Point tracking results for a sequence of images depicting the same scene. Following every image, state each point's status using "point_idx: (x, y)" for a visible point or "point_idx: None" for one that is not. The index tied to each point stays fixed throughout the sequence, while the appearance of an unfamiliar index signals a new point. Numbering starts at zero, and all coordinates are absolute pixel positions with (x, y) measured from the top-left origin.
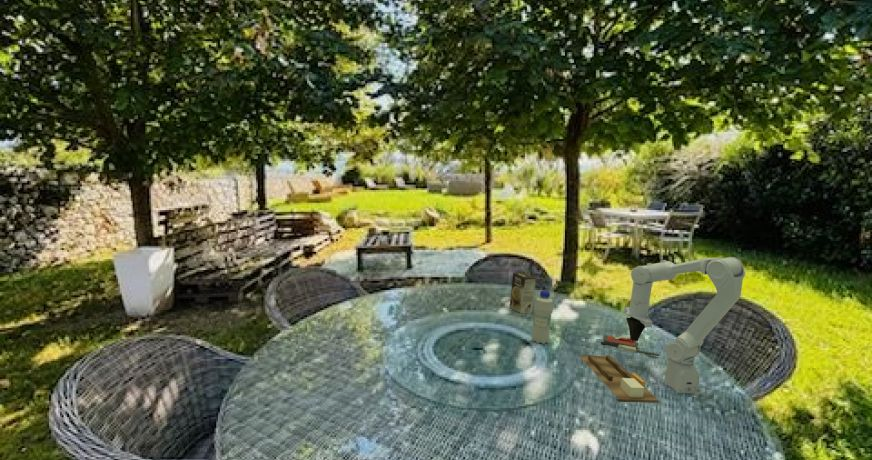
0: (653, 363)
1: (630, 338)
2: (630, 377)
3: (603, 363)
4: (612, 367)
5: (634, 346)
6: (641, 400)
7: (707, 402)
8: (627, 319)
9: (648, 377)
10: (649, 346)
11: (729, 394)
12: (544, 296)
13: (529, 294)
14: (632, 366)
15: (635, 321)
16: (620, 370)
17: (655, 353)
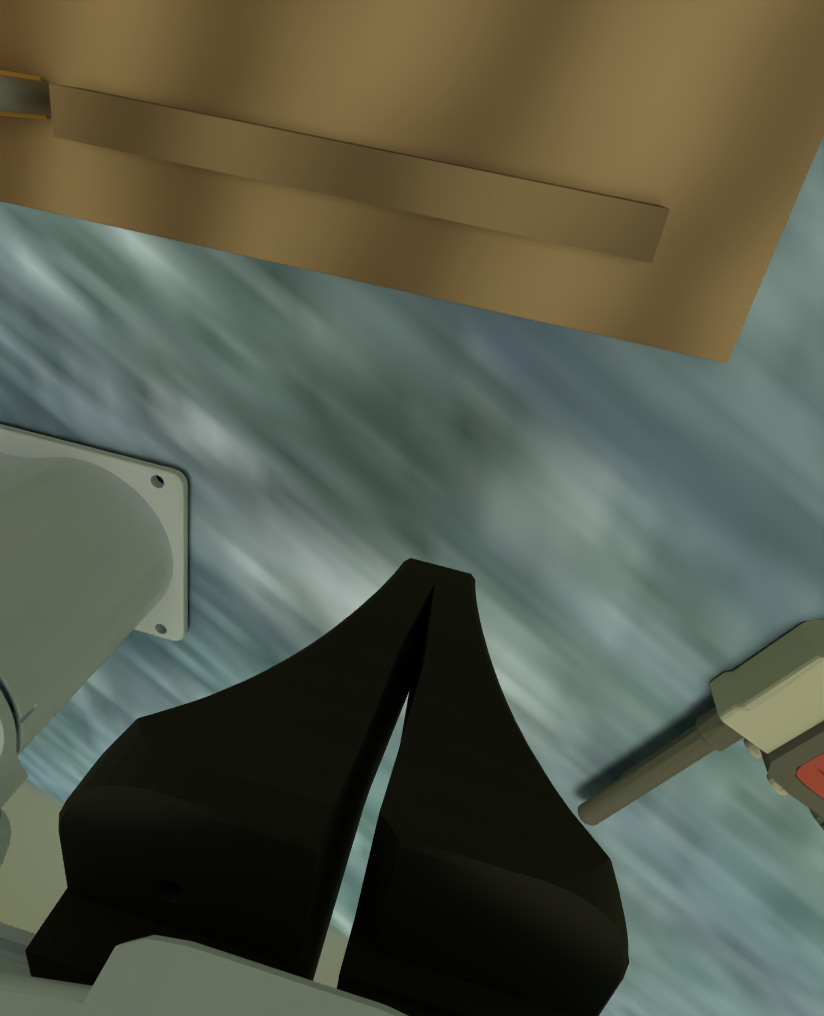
0: None
1: (463, 576)
2: (12, 78)
3: (561, 73)
4: (430, 136)
5: (781, 754)
6: None
7: None
8: (479, 850)
9: (246, 435)
10: (806, 901)
11: (44, 752)
12: None
13: None
14: (476, 456)
15: (148, 880)
16: (255, 124)
17: (603, 811)
